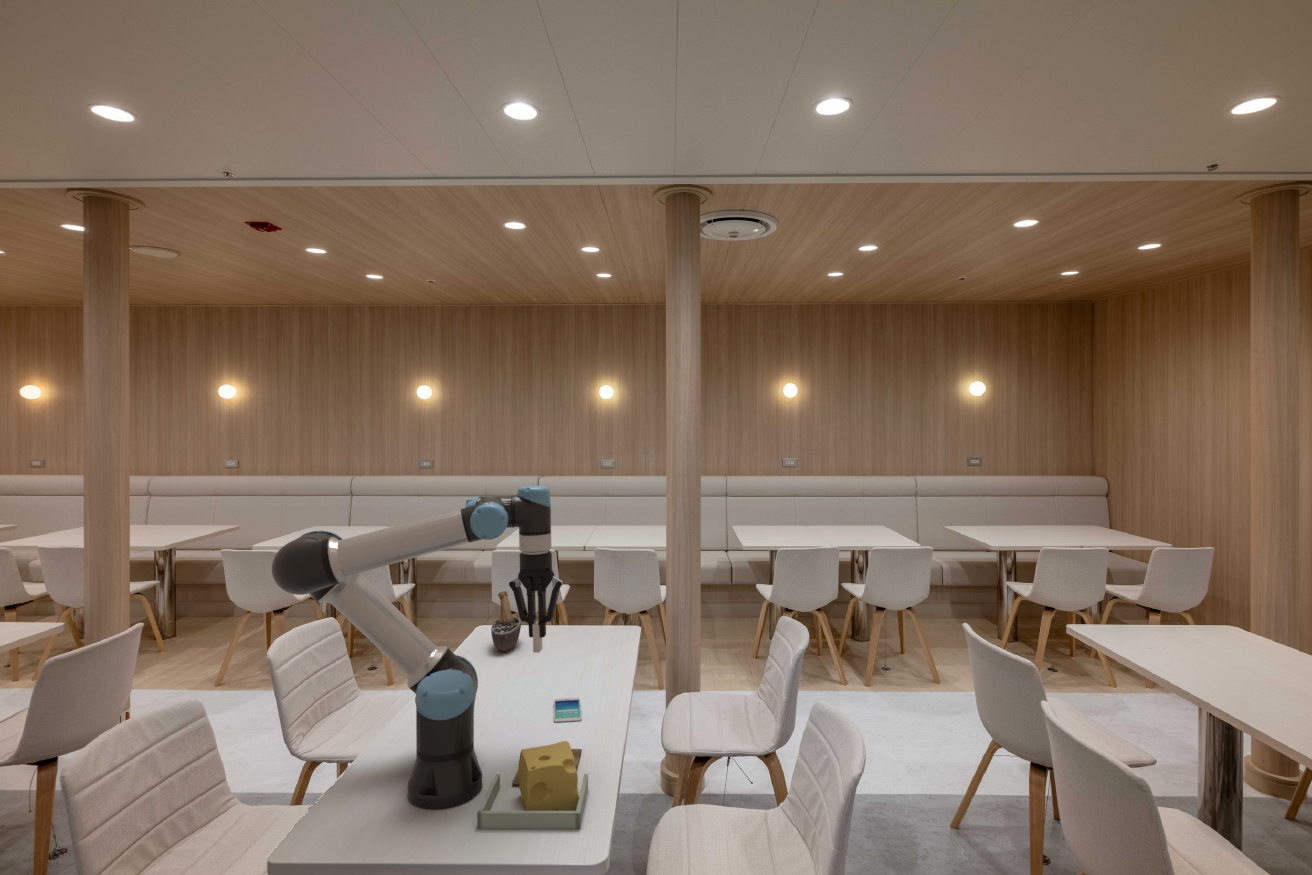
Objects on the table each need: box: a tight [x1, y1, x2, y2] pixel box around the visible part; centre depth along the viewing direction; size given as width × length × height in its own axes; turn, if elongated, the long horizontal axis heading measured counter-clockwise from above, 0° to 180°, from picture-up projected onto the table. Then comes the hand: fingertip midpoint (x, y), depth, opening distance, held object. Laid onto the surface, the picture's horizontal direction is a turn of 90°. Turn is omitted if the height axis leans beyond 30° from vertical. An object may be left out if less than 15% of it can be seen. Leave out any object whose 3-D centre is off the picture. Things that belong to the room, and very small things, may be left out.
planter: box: [490, 590, 522, 653], centre depth 237 cm, size 15×17×20 cm
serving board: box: [511, 748, 583, 788], centre depth 152 cm, size 16×13×1 cm
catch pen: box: [476, 773, 589, 830], centre depth 136 cm, size 15×20×3 cm
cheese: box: [517, 740, 580, 811], centre depth 138 cm, size 10×11×10 cm
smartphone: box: [553, 697, 583, 724], centre depth 184 cm, size 8×1×15 cm
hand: (537, 650), depth 160 cm, fingers closed
